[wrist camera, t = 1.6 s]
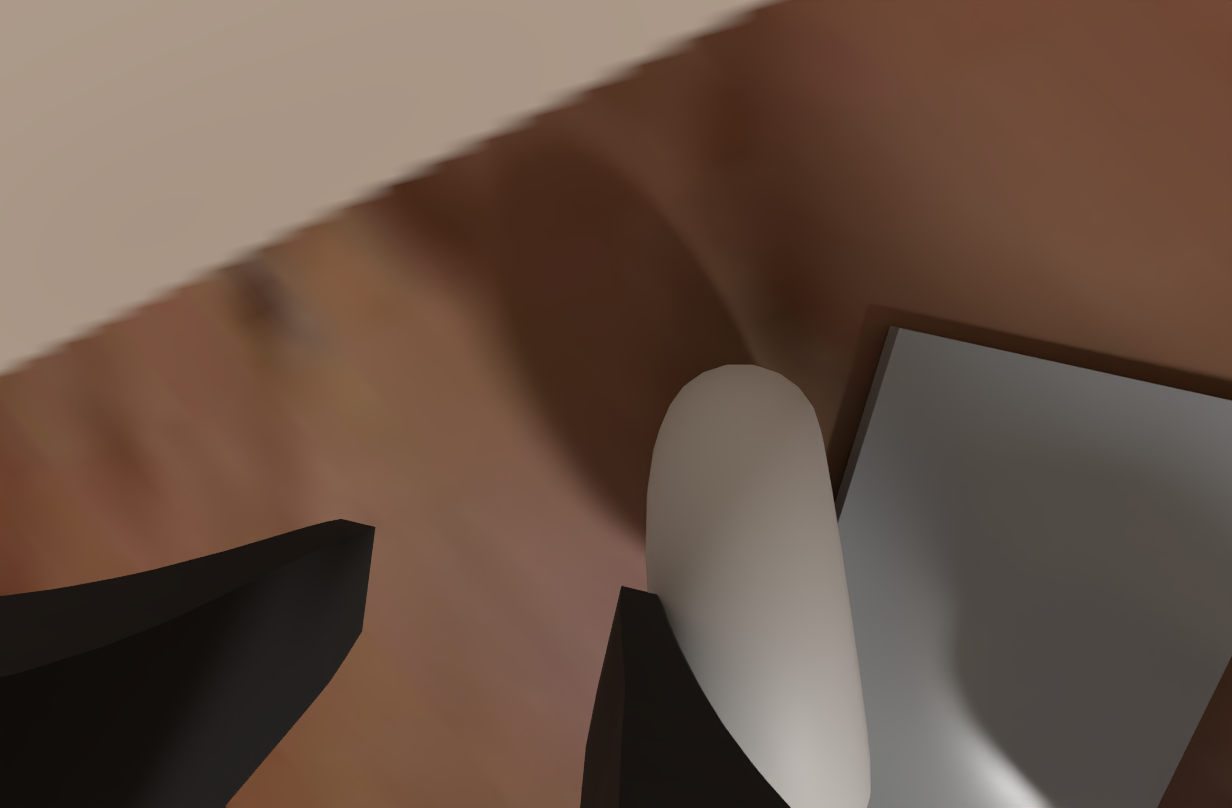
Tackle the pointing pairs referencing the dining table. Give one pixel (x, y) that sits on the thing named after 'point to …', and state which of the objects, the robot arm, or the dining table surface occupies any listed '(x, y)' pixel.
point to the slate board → (1033, 577)
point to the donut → (760, 580)
